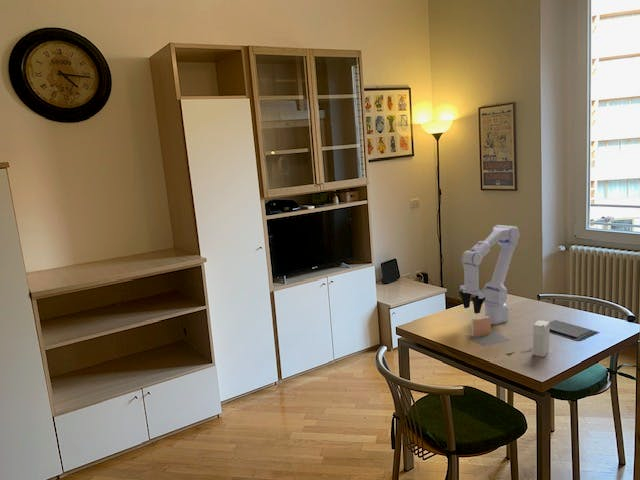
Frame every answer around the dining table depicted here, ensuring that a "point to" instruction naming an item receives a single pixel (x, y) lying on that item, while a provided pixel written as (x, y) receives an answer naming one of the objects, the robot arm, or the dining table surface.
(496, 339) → the mat
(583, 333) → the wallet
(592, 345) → the dining table surface
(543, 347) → the skincare box
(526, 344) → the dining table surface
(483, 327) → the tile
